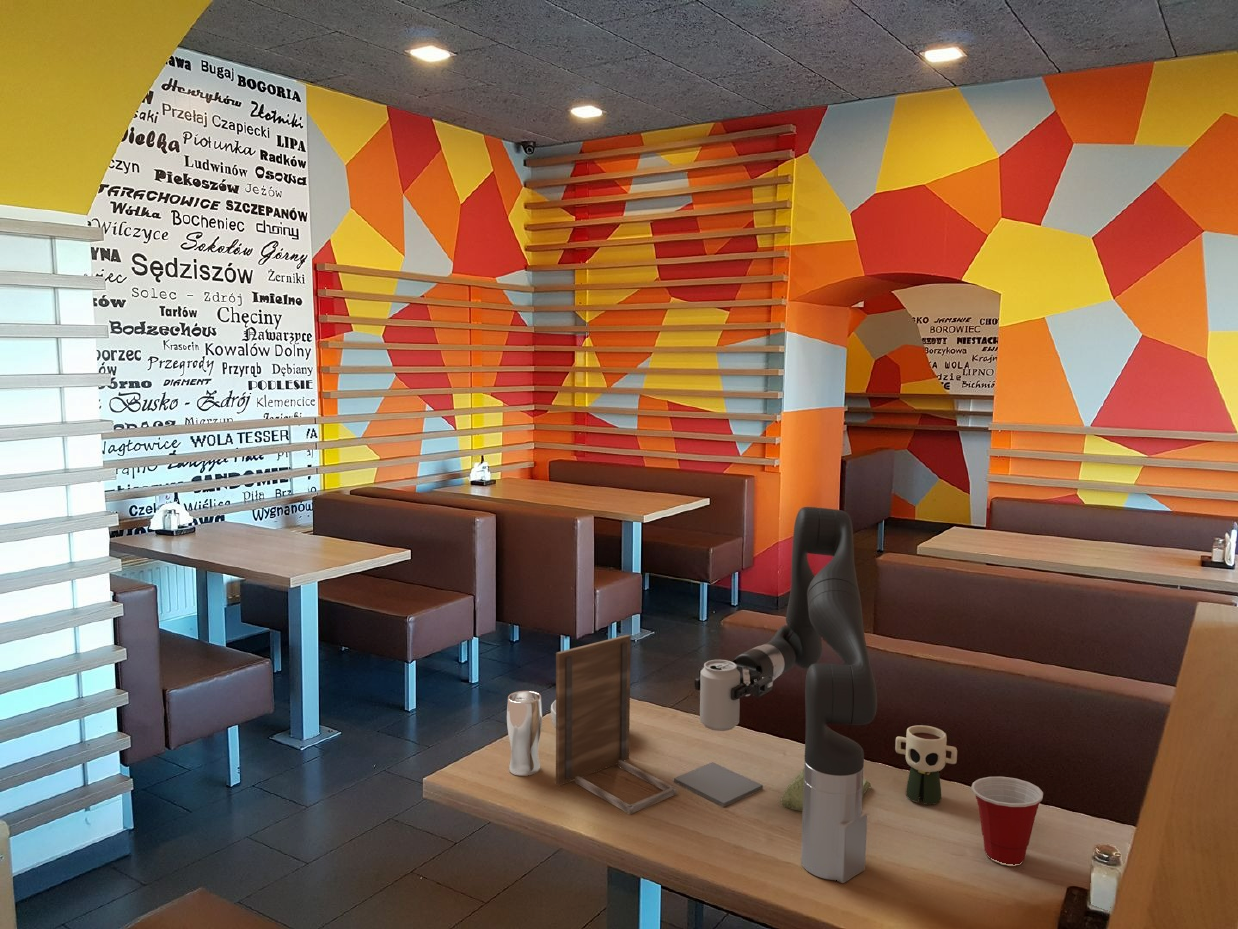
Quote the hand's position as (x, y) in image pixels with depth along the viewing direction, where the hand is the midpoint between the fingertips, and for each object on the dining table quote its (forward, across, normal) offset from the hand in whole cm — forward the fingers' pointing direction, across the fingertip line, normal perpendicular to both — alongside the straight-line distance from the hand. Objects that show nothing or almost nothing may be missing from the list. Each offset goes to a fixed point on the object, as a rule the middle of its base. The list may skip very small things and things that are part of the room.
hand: (714, 690), depth 167 cm
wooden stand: (+11, -13, +19) cm, 26 cm away
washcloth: (-11, +18, +20) cm, 29 cm away
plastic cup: (-11, +50, +20) cm, 55 cm away
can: (-2, 0, +8) cm, 8 cm away
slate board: (-2, 0, +20) cm, 20 cm away
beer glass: (+17, -33, +20) cm, 42 cm away
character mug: (-22, +32, +20) cm, 44 cm away
